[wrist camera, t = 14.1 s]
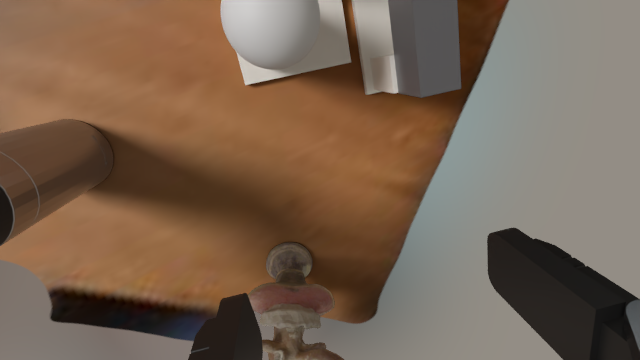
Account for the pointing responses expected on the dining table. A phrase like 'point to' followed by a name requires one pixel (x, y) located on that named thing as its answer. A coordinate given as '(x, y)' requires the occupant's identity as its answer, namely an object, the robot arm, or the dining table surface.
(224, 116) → the dining table surface
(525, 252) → the robot arm
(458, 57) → the gray bar
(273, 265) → the decorative bust
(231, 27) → the display stand
